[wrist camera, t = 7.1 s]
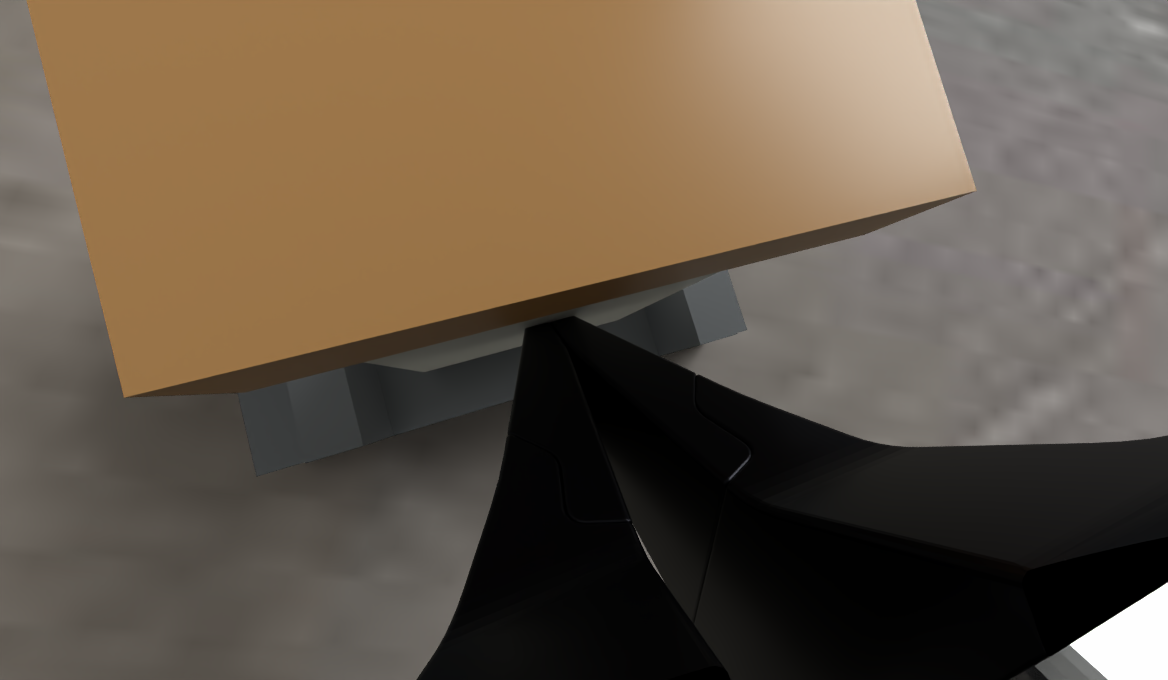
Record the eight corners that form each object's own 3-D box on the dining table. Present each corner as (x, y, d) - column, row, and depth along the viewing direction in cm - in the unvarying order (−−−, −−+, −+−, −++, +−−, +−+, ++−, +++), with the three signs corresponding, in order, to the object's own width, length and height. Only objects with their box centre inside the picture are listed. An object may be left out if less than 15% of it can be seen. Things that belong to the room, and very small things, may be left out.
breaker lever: (628, 326, 14) (976, 191, 4) (416, 385, 12) (125, 398, 2) (606, 249, 14) (893, -70, 4) (392, 297, 12) (14, -45, 2)
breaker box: (706, 341, 18) (832, 306, 12) (303, 461, 15) (138, 513, 8) (652, 171, 19) (741, 42, 12) (251, 243, 15) (57, 114, 8)
